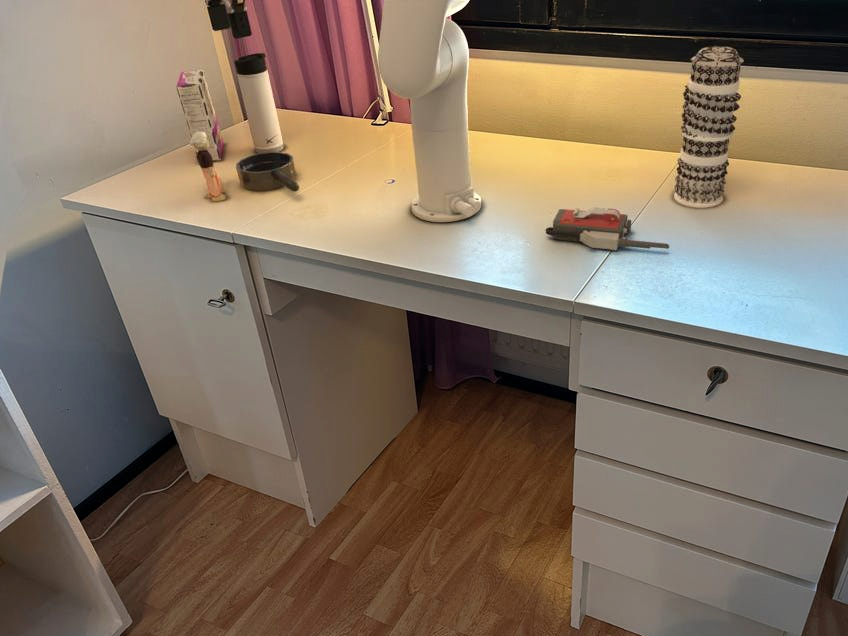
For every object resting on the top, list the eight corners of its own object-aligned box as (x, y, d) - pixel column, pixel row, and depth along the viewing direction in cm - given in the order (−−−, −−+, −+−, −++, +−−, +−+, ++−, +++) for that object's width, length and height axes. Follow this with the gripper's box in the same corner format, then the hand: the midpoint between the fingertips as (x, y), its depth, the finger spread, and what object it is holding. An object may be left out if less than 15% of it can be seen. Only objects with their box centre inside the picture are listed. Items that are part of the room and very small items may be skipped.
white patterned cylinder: (661, 200, 130) (677, 52, 115) (688, 183, 136) (706, 40, 121) (708, 213, 125) (730, 60, 110) (734, 195, 130) (758, 47, 116)
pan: (305, 181, 146) (302, 162, 143) (253, 197, 141) (248, 177, 138) (283, 166, 153) (279, 147, 151) (232, 180, 148) (227, 161, 146)
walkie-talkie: (541, 245, 119) (667, 258, 113) (541, 220, 116) (670, 232, 111) (554, 222, 125) (673, 232, 120) (554, 198, 123) (676, 208, 117)
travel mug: (278, 155, 158) (257, 58, 147) (250, 154, 160) (227, 58, 148) (290, 144, 163) (270, 50, 152) (262, 144, 165) (241, 50, 153)
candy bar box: (201, 146, 165) (180, 71, 156) (224, 143, 166) (204, 68, 156) (197, 164, 156) (174, 85, 147) (221, 161, 157) (200, 82, 147)
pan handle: (301, 191, 136) (299, 182, 135) (292, 194, 135) (290, 184, 134) (280, 176, 143) (278, 167, 142) (271, 178, 142) (269, 170, 141)
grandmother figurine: (235, 198, 141) (217, 132, 133) (217, 204, 138) (198, 139, 131) (214, 188, 145) (196, 124, 138) (197, 194, 143) (178, 130, 135)
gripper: (246, -81, 115) (272, 35, 125) (207, -84, 126) (233, 23, 136) (200, -75, 111) (230, 44, 121) (164, -79, 123) (194, 30, 133)
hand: (232, 33), depth 129 cm, fingers open, 9 cm apart
